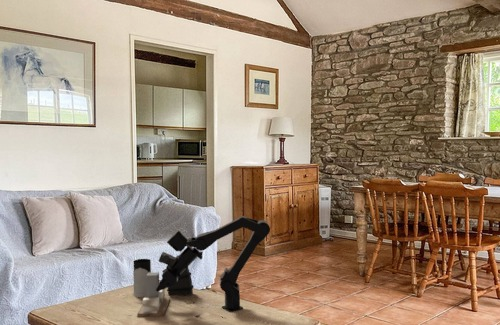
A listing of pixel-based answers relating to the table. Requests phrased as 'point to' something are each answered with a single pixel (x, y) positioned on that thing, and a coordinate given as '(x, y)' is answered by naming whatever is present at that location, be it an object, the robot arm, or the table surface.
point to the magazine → (182, 284)
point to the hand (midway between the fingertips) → (158, 287)
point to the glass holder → (141, 276)
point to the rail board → (160, 312)
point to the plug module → (152, 285)
